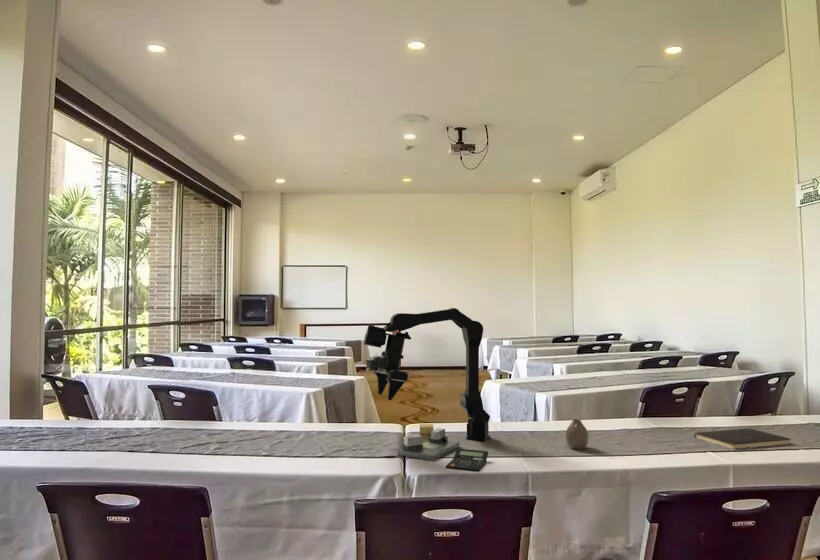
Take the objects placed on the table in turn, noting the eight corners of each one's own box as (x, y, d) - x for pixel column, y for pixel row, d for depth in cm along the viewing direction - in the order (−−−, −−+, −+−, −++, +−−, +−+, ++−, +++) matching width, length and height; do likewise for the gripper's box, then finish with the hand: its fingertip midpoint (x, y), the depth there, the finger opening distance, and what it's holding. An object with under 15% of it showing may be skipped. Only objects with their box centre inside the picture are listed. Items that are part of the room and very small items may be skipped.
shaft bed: (459, 446, 176) (459, 430, 176) (433, 460, 160) (433, 442, 160) (426, 442, 182) (426, 426, 182) (397, 455, 166) (397, 437, 166)
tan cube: (433, 438, 186) (433, 423, 187) (433, 442, 182) (433, 427, 182) (419, 438, 186) (419, 423, 187) (419, 442, 182) (419, 427, 182)
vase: (577, 452, 169) (576, 423, 170) (561, 446, 175) (560, 419, 176) (593, 449, 173) (593, 420, 173) (577, 444, 179) (577, 416, 179)
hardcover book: (791, 445, 178) (790, 438, 178) (733, 451, 172) (733, 443, 172) (748, 434, 193) (748, 427, 193) (694, 438, 187) (694, 432, 187)
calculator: (445, 469, 153) (445, 458, 153) (457, 458, 164) (457, 448, 164) (478, 472, 150) (478, 461, 150) (488, 461, 161) (488, 451, 161)
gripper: (362, 343, 188) (353, 388, 187) (381, 350, 171) (370, 400, 170) (392, 348, 193) (383, 392, 192) (413, 355, 175) (403, 404, 174)
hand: (384, 397), depth 182 cm, fingers open, 9 cm apart
